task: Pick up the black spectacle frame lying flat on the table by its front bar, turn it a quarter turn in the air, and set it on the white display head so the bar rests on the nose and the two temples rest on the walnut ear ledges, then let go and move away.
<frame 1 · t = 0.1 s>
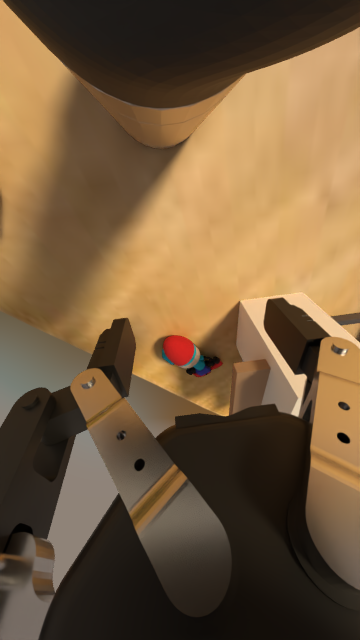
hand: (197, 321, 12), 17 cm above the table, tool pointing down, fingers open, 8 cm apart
display head: (258, 362, 42), on the table
toy figure: (189, 350, 39), on the table
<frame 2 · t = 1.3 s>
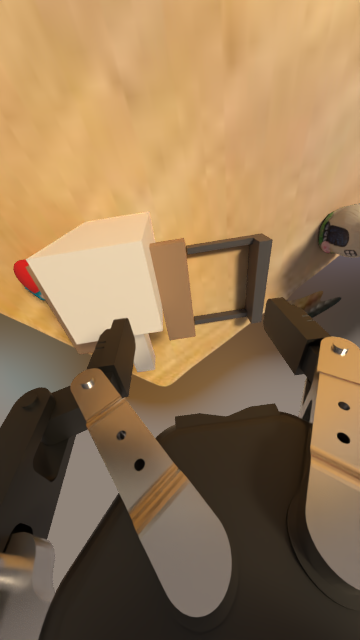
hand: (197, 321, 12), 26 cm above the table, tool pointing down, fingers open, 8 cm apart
display head: (142, 304, 40), on the table
toy figure: (64, 288, 37), on the table
decorative ornament: (335, 227, 35), on the table
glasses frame: (252, 277, 39), on the table
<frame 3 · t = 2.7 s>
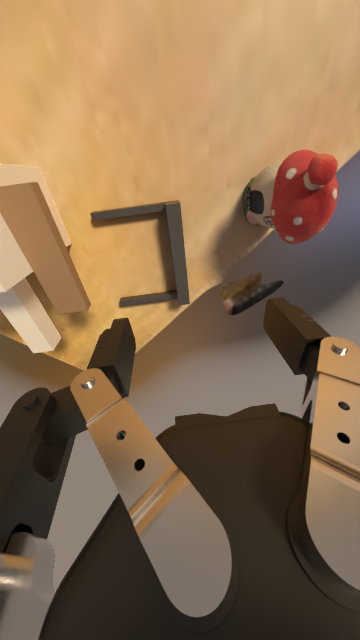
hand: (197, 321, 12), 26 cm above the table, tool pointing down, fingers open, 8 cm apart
display head: (58, 281, 36), on the table
decorative ornament: (262, 196, 31), on the table
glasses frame: (177, 253, 35), on the table
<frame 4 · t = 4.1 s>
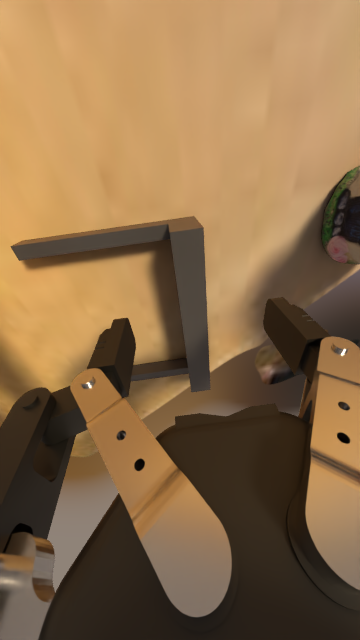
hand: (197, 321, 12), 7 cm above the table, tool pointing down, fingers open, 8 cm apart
decorative ornament: (359, 206, 16), on the table
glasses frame: (189, 307, 20), on the table
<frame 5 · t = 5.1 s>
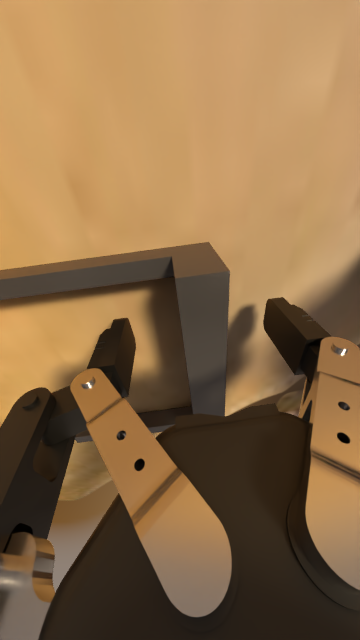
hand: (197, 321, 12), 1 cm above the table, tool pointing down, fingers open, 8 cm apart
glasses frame: (198, 353, 15), on the table
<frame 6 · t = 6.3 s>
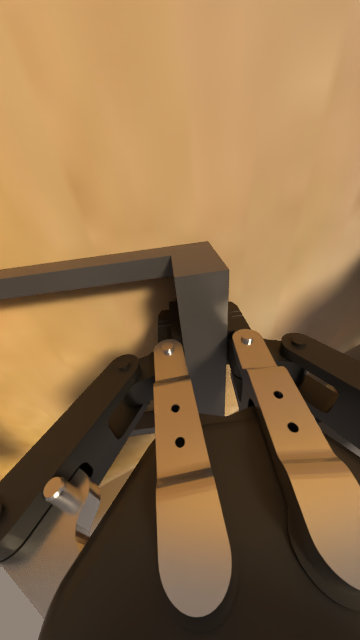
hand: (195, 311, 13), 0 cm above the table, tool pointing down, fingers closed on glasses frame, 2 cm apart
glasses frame: (197, 352, 15), on the table, touching gripper
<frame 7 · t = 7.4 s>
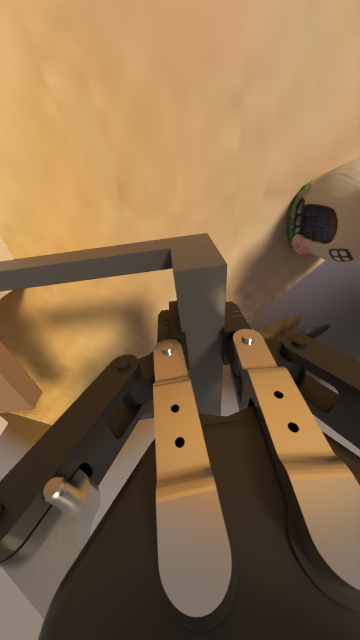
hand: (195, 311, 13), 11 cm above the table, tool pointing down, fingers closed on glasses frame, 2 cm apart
display head: (13, 329, 25), on the table
decorative ornament: (316, 211, 20), on the table
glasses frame: (196, 342, 16), point 10 cm above the table, touching gripper
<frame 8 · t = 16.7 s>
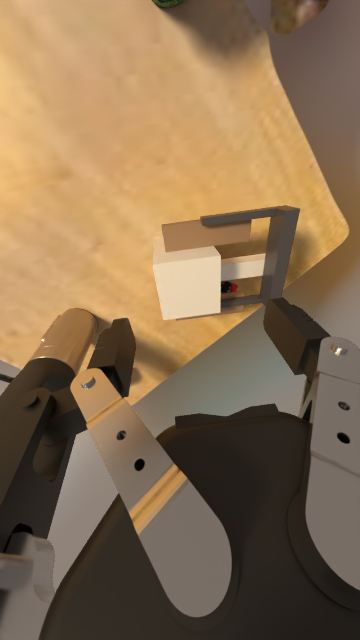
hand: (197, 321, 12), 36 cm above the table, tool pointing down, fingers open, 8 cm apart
display head: (228, 250, 46), on the table
toy figure: (206, 288, 52), on the table
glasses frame: (270, 258, 35), point 12 cm above the table, touching display head
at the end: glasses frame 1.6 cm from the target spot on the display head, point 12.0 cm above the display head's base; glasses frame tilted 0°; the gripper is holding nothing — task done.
